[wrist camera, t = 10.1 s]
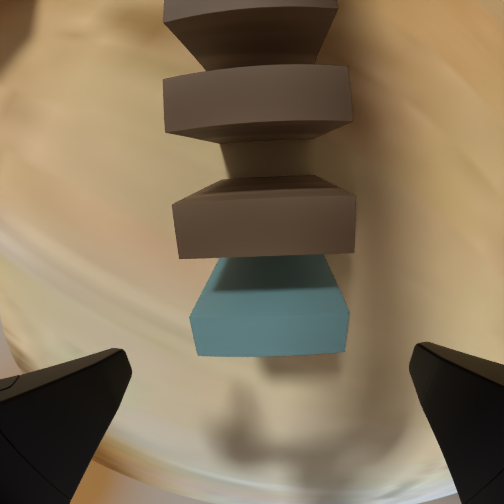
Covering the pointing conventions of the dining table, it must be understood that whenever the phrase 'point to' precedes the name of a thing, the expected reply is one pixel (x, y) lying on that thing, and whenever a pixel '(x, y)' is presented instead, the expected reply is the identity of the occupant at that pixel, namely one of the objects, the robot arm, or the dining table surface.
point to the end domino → (270, 308)
